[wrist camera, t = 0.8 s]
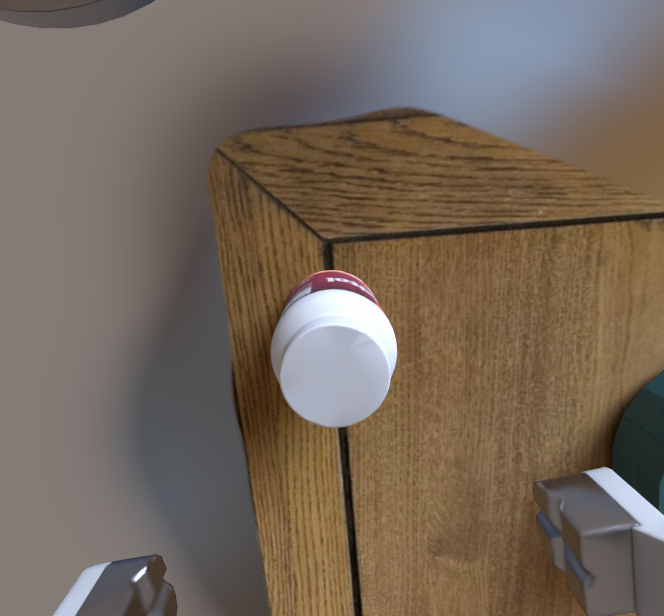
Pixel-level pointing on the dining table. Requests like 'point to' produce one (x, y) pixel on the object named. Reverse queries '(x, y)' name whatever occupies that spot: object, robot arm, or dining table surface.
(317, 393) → the pill bottle
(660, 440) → the bowl
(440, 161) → the dining table surface
